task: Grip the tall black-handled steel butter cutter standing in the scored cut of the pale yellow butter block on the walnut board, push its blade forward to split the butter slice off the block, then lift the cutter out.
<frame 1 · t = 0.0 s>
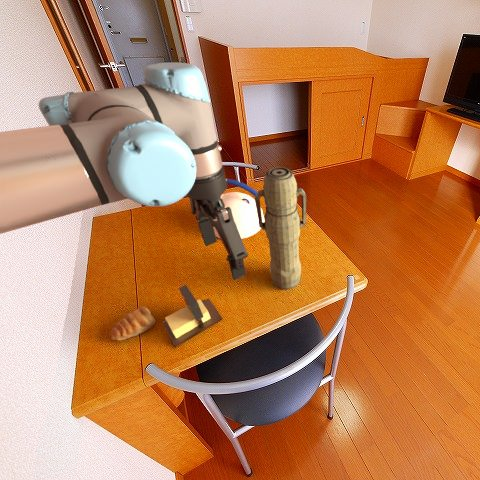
hand: (224, 258, 61), 20 cm above the table, tool pointing down, fingers open, 13 cm apart
pastry: (137, 326, 69), on the table
butter slice: (202, 314, 71), point 1 cm above the table, touching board
cutter: (197, 317, 71), point 1 cm above the table, touching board
kettle: (237, 223, 103), on the table
butter block: (184, 324, 69), point 1 cm above the table, touching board
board: (193, 322, 71), on the table
thermos: (286, 278, 83), on the table
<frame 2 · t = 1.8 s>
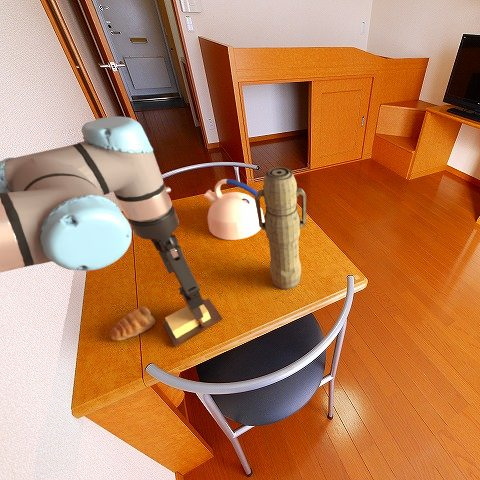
hand: (185, 287, 63), 13 cm above the table, tool pointing down, fingers open, 13 cm apart
nothing on the table moved.
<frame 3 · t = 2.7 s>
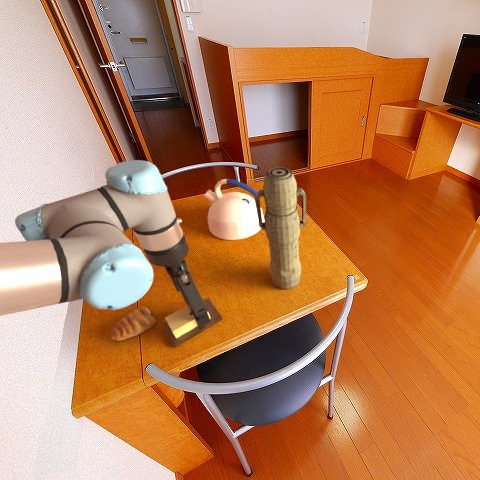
hand: (193, 305, 68), 6 cm above the table, tool pointing down, fingers open, 13 cm apart
nothing on the table moved.
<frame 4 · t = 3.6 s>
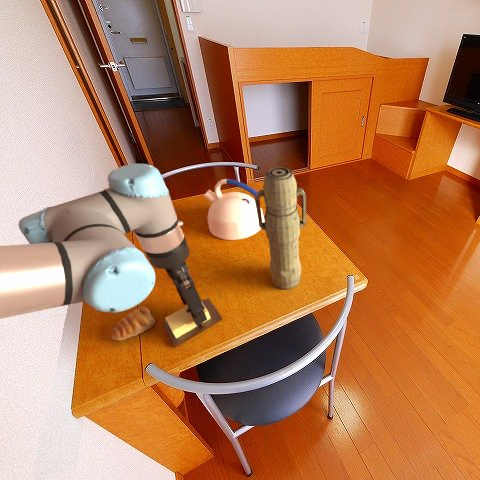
hand: (195, 311, 69), 4 cm above the table, tool pointing down, fingers closed on cutter, 7 cm apart
cutter: (197, 317, 71), point 1 cm above the table, touching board, gripper
everything else where it was.
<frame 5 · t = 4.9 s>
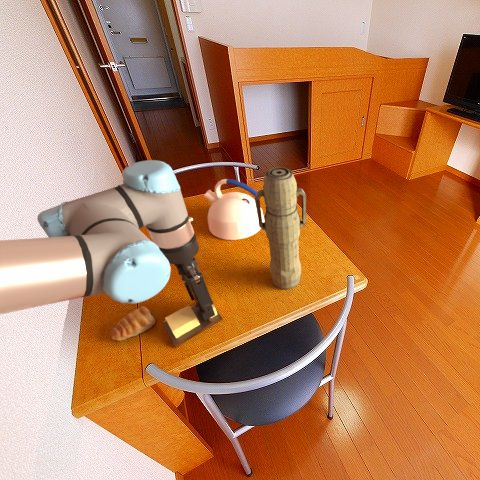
hand: (202, 306, 70), 4 cm above the table, tool pointing down, fingers closed on cutter, 7 cm apart
butter slice: (209, 310, 72), point 1 cm above the table, touching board, cutter
cutter: (205, 312, 72), point 1 cm above the table, touching butter slice, gripper
everything else where it was.
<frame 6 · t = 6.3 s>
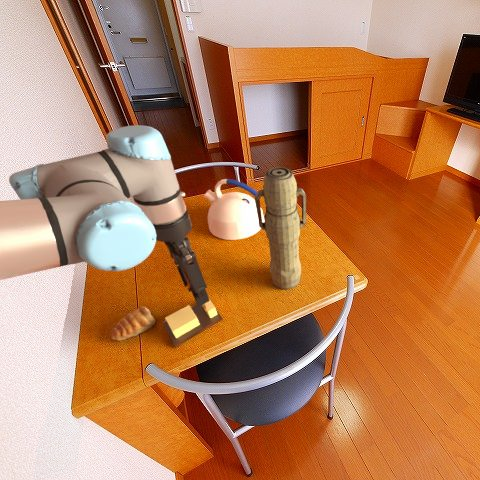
hand: (196, 292, 66), 9 cm above the table, tool pointing down, fingers closed on cutter, 7 cm apart
butter slice: (209, 310, 72), point 1 cm above the table, touching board
cutter: (199, 299, 68), point 7 cm above the table, touching gripper
everything else where it was.
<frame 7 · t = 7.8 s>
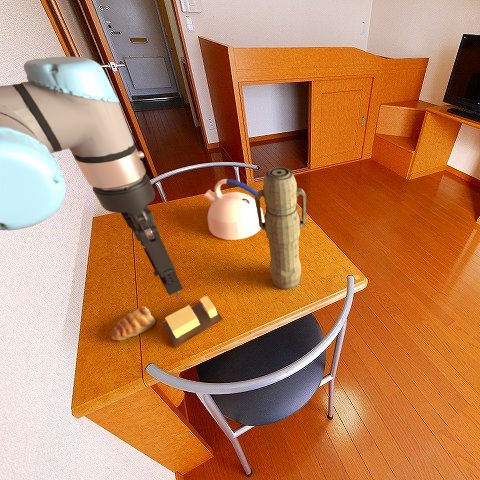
hand: (168, 279, 57), 19 cm above the table, tool pointing down, fingers closed on cutter, 7 cm apart
cutter: (172, 287, 58), point 16 cm above the table, touching gripper
everything else where it was.
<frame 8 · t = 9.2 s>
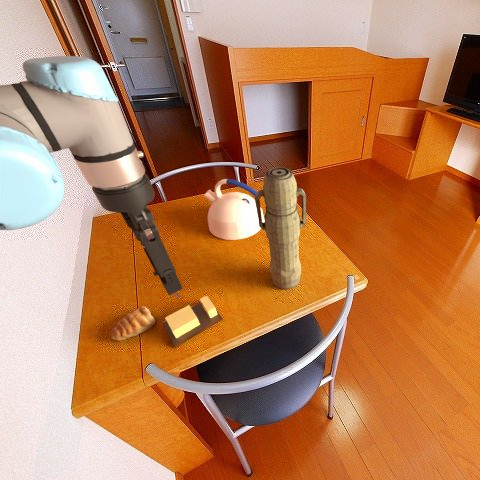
hand: (168, 279, 57), 19 cm above the table, tool pointing down, fingers closed on cutter, 7 cm apart
cutter: (172, 287, 58), point 16 cm above the table, touching gripper
everything else where it was.
at the end: butter slice 0.6 cm from the target spot, point 1.0 cm above the table; butter block moved 0.0 cm from its start; the gripper is holding cutter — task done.
